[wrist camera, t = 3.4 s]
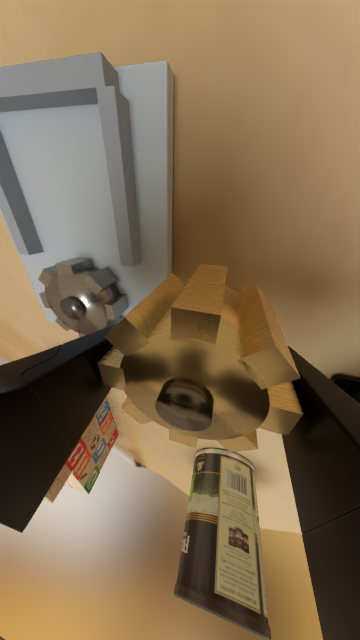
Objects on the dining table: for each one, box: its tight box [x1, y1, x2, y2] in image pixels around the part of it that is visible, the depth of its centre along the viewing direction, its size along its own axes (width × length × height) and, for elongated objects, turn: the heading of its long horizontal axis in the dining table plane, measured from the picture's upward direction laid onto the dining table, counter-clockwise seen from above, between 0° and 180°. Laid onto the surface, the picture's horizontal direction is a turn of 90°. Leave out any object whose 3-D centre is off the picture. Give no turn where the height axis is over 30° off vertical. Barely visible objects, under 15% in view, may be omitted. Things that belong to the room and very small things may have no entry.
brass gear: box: [98, 264, 303, 452], centre depth 7 cm, size 7×7×5 cm
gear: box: [38, 257, 129, 337], centre depth 16 cm, size 7×7×3 cm
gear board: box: [0, 52, 174, 324], centre depth 15 cm, size 15×18×3 cm
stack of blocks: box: [44, 398, 118, 503], centre depth 26 cm, size 21×6×12 cm, turn 179°
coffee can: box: [174, 448, 271, 640], centre depth 25 cm, size 10×10×14 cm
